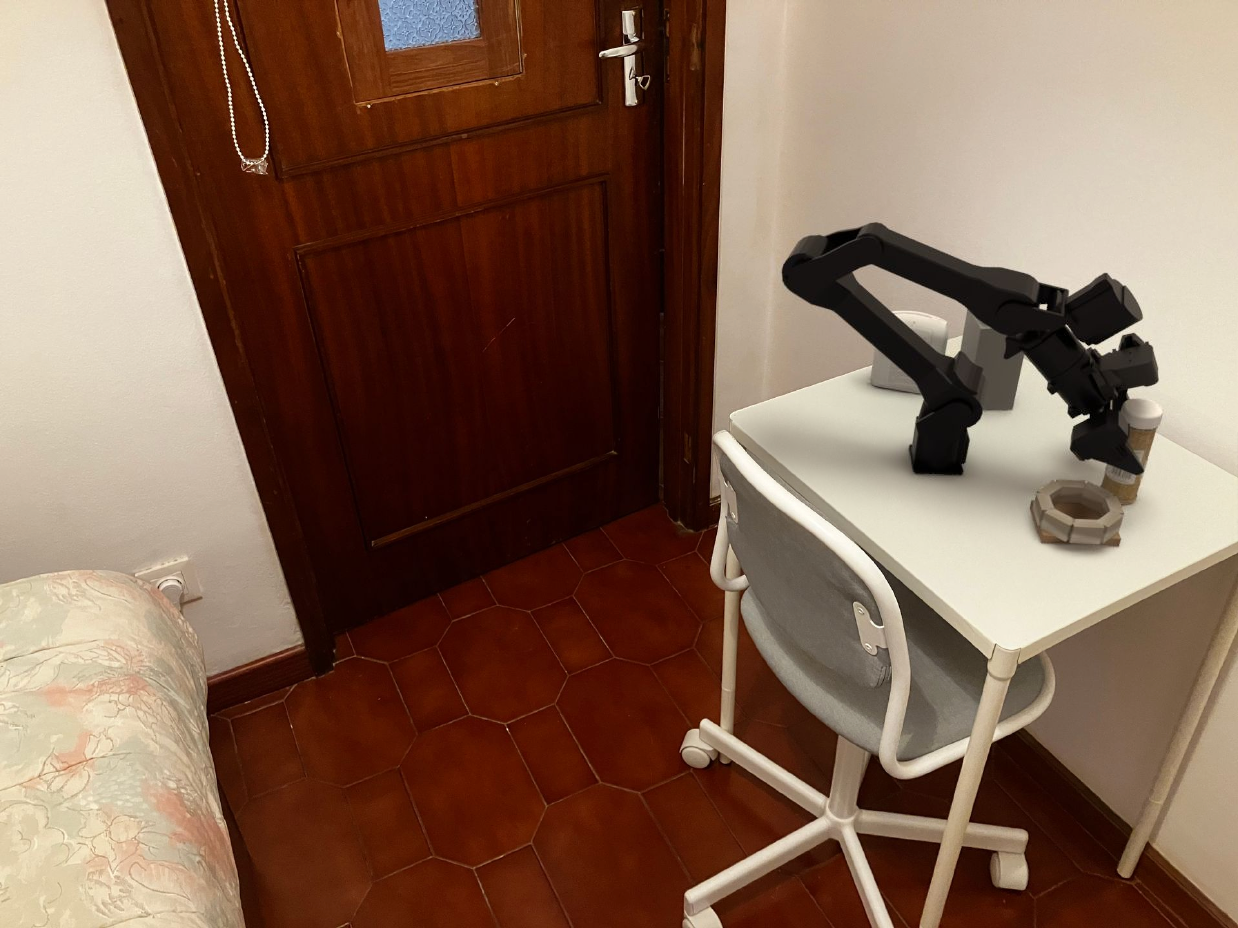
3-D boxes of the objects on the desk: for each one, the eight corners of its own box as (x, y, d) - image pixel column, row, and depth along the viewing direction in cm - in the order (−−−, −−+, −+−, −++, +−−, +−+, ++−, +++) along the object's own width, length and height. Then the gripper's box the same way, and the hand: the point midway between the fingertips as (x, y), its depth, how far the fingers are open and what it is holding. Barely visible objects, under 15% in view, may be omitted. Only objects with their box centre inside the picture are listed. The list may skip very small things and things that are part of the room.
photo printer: (941, 384, 155) (953, 311, 148) (937, 398, 152) (949, 324, 144) (872, 374, 158) (881, 302, 151) (867, 387, 155) (876, 314, 148)
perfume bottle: (1012, 409, 148) (1036, 297, 138) (965, 411, 148) (986, 299, 138) (998, 386, 154) (1021, 276, 143) (953, 387, 154) (972, 278, 143)
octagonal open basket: (1041, 549, 123) (1047, 525, 121) (1025, 501, 130) (1031, 478, 128) (1124, 553, 122) (1131, 529, 119) (1103, 504, 129) (1110, 481, 127)
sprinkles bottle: (1143, 497, 130) (1172, 408, 122) (1121, 510, 128) (1149, 420, 121) (1112, 480, 133) (1137, 392, 126) (1090, 492, 131) (1115, 404, 124)
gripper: (1125, 364, 112) (1209, 464, 114) (1126, 293, 126) (1200, 383, 128) (1036, 413, 119) (1116, 506, 121) (1045, 340, 133) (1117, 425, 135)
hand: (1140, 452), depth 126 cm, fingers open, 9 cm apart
